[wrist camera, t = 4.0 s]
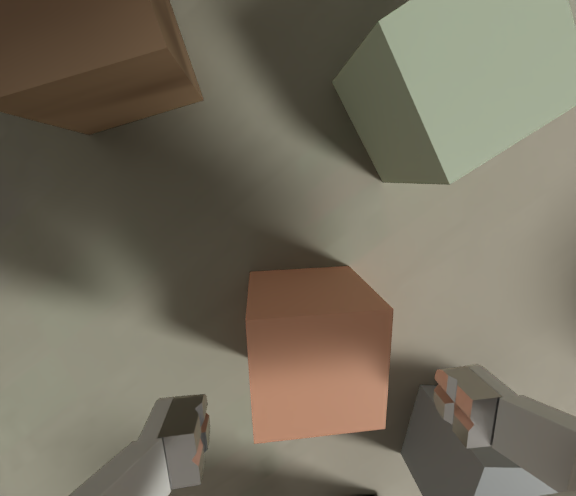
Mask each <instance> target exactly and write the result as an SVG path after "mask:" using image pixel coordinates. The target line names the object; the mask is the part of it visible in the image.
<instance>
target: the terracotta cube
mask: <svg viewBox="0 0 576 496" xmlns="http://www.w3.org/2000/svg"><path fill="white" fill-rule="evenodd" d="M245 322H246V336H247V350H248V364H249V379H250V393H251V407H252V421H253V435H254V444H257V443H266V442H275V441H283V440H292V439H301V438H310V437H319V436H327V435H336V434H345V433H354V432H362V431H371V430H380V429H385V426H386V411H387V397H388V382H389V367H390V353H391V338H392V323H393V308H392V307H391V306H390V305H389V304H388V303H387V302H385V301H384V300H383V299H382V298H381V297H380V296H379V295H378V294H377V293H376V292H375V291H374V290H373V289H372V288H371V287H370V286H369V285H368V284H367V283H366V282H365V281H364V280H363V279H362V278H361V277H360V276H359V275H358V274H357V273H356V272H355V271H353V270H352V269H351V268H350V267H349V266H339V267H321V268H304V269H287V270H270V271H253V272H250V276H249V286H248V297H247V308H246V319H245Z"/></svg>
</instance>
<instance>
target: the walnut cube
mask: <svg viewBox="0 0 576 496" xmlns="http://www.w3.org/2000/svg"><path fill="white" fill-rule="evenodd" d="M199 101H203V97H202V94H201V91H200V88H199V85H198V82H197V79H196V76H195V73H194V70H193V68H192V65H191V62H190V59H189V56H188V53H187V50H186V47H185V44H184V41H183V38H182V36H181V33H180V30H179V27H178V24H177V21H176V18H175V15H174V12H173V9H172V6H171V4H170V1H169V0H0V112H3V113H7V114H11V115H14V116H18V117H22V118H26V119H30V120H34V121H38V122H41V123H45V124H49V125H53V126H57V127H61V128H64V129H68V130H72V131H76V132H80V133H84V134H87V135H90V134H94V133H97V132H100V131H104V130H107V129H110V128H113V127H117V126H120V125H123V124H127V123H130V122H133V121H137V120H140V119H143V118H147V117H150V116H153V115H156V114H160V113H163V112H166V111H170V110H173V109H176V108H180V107H183V106H186V105H190V104H193V103H196V102H199Z"/></svg>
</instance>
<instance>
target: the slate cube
mask: <svg viewBox="0 0 576 496" xmlns="http://www.w3.org/2000/svg"><path fill="white" fill-rule="evenodd" d="M435 388H436V386H433V385H420V386H419V390H418V394H417V397H416V401H415V404H414V408H413V411H412V415H411V418H410V422H409V425H408V429H407V432H406V436H405V440H404V443H403V447H402V450H401V455H402V457H403V459H404V461H405V463H406V464H407V466H408V468H409V470H410V472H411V474H412V476H413V478H414V480H415V482H416V484H417V486H418V488H419V490H420V491H421V493H422V495H423V496H541V495H547V494H554V493H558V492H557V491H555V490H554V489H552V488H551V487H549V486H548V485H546V484H545V483H543V482H542V481H540V480H539V479H537V478H536V477H534V476H533V475H532V474H530V473H529V472H527V471H526V470H524V469H523V468H521V467H520V466H518V465H517V464H515V463H514V462H512V461H511V460H509V459H508V458H507V457H505V456H504V455H502V454H501V453H499V452H498V451H496V450H495V449H493V448H492V446H488V447H478V448H468V449H466V447H465V446H464V445H463V444H462V442H461V441H460V440H459V439H458V437H457V436H456V435H455V434H454V432H453V431H452V424H450V423H449V422H447V421H445V420H443V418H442V417H441V416H440V414H439V413H438V411H437V409H436V407H435V403H434V399H433V394H434V389H435Z"/></svg>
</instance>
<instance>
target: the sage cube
mask: <svg viewBox="0 0 576 496" xmlns="http://www.w3.org/2000/svg"><path fill="white" fill-rule="evenodd" d="M332 83H333V85H334V87H335V89H336V91H337V93H338V95H339V97H340V99H341V101H342V103H343V105H344V107H345V109H346V111H347V113H348V115H349V117H350V119H351V121H352V123H353V125H354V127H355V129H356V131H357V133H358V135H359V137H360V139H361V141H362V142H363V144H364V146H365V148H366V150H367V152H368V154H369V156H370V158H371V160H372V162H373V164H374V166H375V168H376V170H377V172H378V174H379V176H380V178H381V180H382V182H386V183H417V184H448V185H450V184H452V183H453V182H455V181H456V180H458V179H460V178H461V177H463V176H464V175H466V174H468V173H469V172H471V171H472V170H474V169H476V168H477V167H479V166H480V165H482V164H484V163H485V162H487V161H488V160H490V159H492V158H493V157H495V156H496V155H498V154H500V153H501V152H503V151H504V150H506V149H508V148H509V147H511V146H512V145H514V144H516V143H517V142H519V141H520V140H522V139H524V138H525V137H527V136H528V135H530V134H532V133H533V132H535V131H536V130H538V129H540V128H541V127H543V126H544V125H546V124H548V123H549V122H551V121H552V120H554V119H556V118H557V117H559V116H560V115H562V114H564V113H565V112H567V111H568V110H570V109H572V108H573V107H575V106H576V27H575V23H574V19H573V16H572V12H571V8H570V4H569V0H409V1H408V2H406V3H405V4H403V5H402V6H400V7H399V8H397V9H396V10H394V11H393V12H391V13H390V14H388V15H387V16H385V17H384V18H382V19H381V20H379V21H378V22H377V24H376V25H375V26H374V28H373V29H372V30H371V31H370V33H369V34H368V35H367V37H366V38H365V39H364V41H363V42H362V43H361V45H360V46H359V47H358V49H357V50H356V51H355V53H354V54H353V55H352V56H351V58H350V59H349V60H348V62H347V63H346V64H345V66H344V67H343V68H342V70H341V71H340V72H339V74H338V75H337V76H336V78H335V79H334V80H333V81H332Z"/></svg>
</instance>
